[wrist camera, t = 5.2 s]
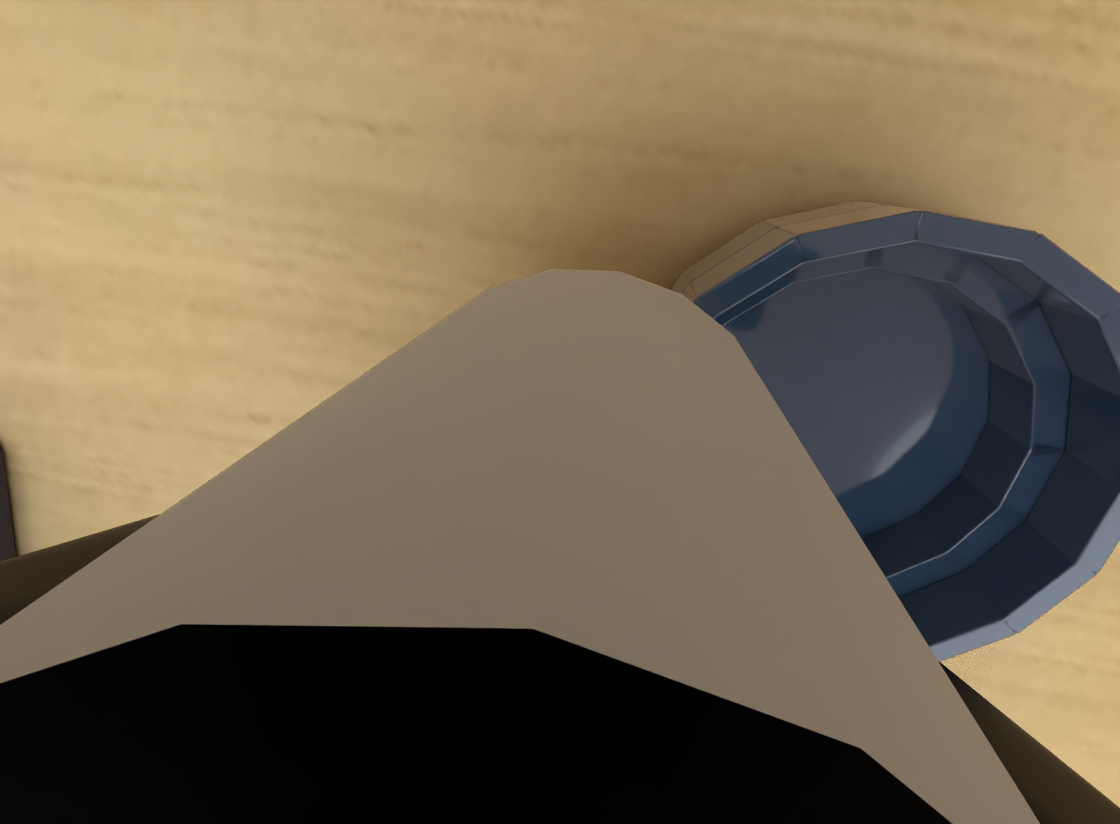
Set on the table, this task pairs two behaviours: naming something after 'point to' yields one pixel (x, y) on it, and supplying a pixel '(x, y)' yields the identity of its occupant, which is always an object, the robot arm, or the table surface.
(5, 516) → the red and grey device
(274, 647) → the can
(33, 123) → the table surface
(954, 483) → the bowl
